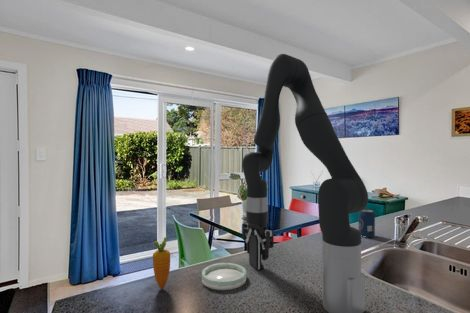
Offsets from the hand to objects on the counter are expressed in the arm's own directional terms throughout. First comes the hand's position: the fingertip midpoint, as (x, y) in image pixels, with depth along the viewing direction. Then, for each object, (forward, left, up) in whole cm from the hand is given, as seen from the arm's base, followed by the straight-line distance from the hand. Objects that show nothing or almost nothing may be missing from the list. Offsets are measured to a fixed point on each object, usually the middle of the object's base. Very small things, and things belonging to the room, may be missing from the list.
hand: (257, 256), depth 99 cm
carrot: (+5, +33, -4) cm, 34 cm away
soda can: (-6, -63, -4) cm, 63 cm away
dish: (-1, +15, -3) cm, 15 cm away
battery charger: (0, 0, -4) cm, 4 cm away
